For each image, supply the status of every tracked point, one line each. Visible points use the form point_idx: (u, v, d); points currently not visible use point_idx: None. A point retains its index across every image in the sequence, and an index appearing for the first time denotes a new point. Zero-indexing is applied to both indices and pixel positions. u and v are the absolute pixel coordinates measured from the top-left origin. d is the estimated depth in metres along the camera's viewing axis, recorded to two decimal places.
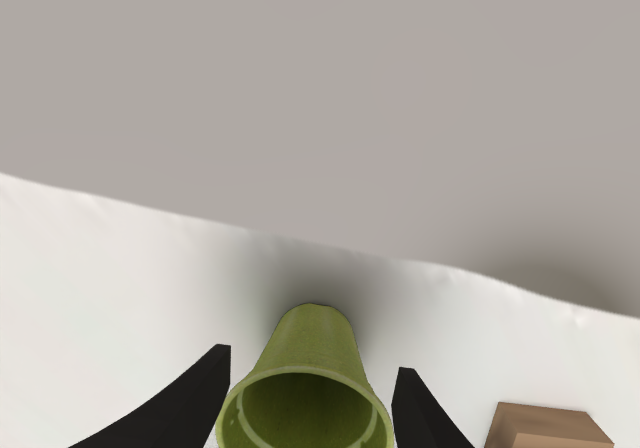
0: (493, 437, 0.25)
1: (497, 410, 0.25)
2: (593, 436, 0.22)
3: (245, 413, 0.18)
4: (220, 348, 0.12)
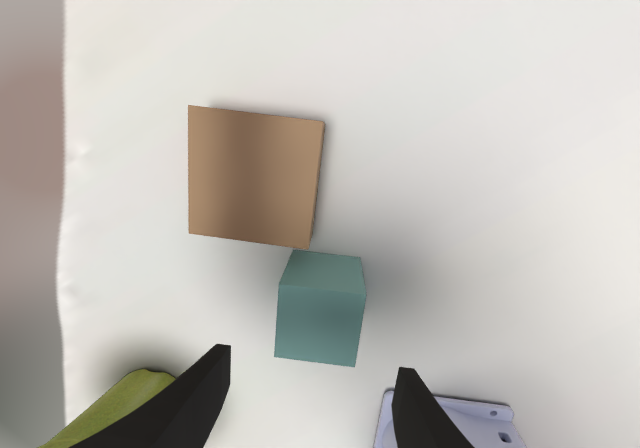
0: None
1: None
2: None
3: None
4: (220, 348, 0.12)
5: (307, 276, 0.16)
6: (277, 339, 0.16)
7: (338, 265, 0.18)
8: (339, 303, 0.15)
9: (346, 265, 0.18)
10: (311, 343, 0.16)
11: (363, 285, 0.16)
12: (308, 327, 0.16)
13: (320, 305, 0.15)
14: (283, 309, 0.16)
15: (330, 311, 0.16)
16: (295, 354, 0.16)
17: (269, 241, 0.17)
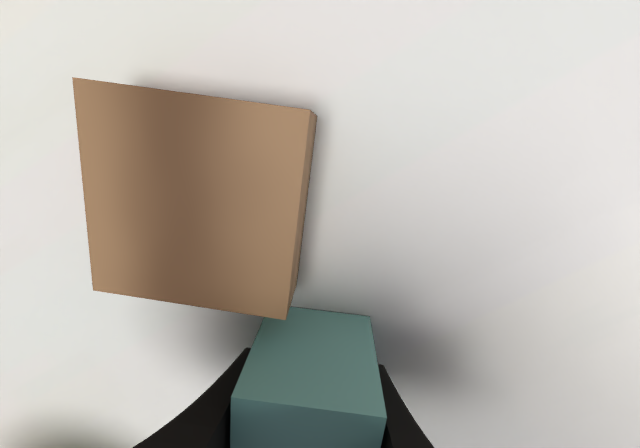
0: None
1: None
2: None
3: None
4: None
5: (283, 372, 0.10)
6: None
7: (337, 338, 0.12)
8: (339, 429, 0.09)
9: (349, 337, 0.12)
10: None
11: (380, 388, 0.09)
12: None
13: (305, 432, 0.09)
14: (240, 436, 0.09)
15: (322, 441, 0.09)
16: None
17: (223, 306, 0.10)
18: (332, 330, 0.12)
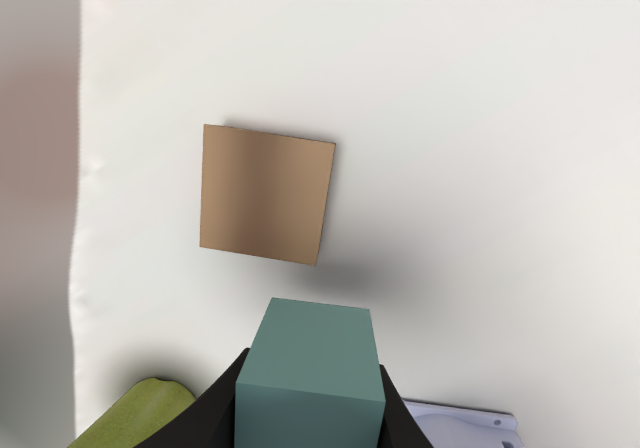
0: None
1: None
2: None
3: None
4: None
5: (286, 360, 0.10)
6: None
7: (337, 329, 0.12)
8: (340, 413, 0.09)
9: (349, 328, 0.12)
10: None
11: (379, 375, 0.10)
12: None
13: (307, 416, 0.09)
14: (244, 420, 0.09)
15: (323, 425, 0.09)
16: None
17: (278, 257, 0.18)
18: (333, 322, 0.12)
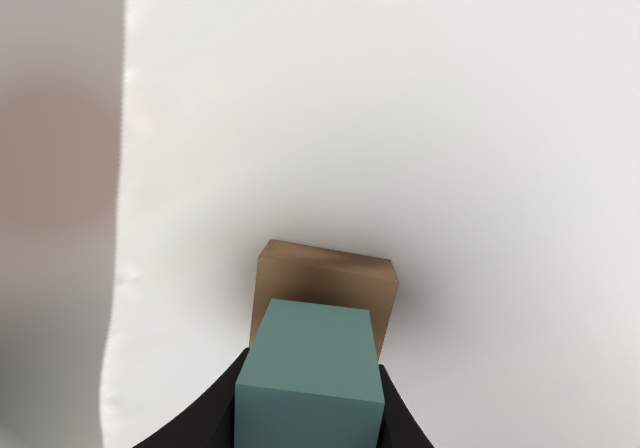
0: None
1: None
2: None
3: None
4: None
5: (285, 361, 0.10)
6: None
7: (337, 330, 0.12)
8: (339, 414, 0.09)
9: (349, 329, 0.12)
10: None
11: (378, 376, 0.10)
12: None
13: (306, 417, 0.09)
14: (244, 421, 0.09)
15: (323, 426, 0.09)
16: None
17: None
18: (332, 323, 0.12)
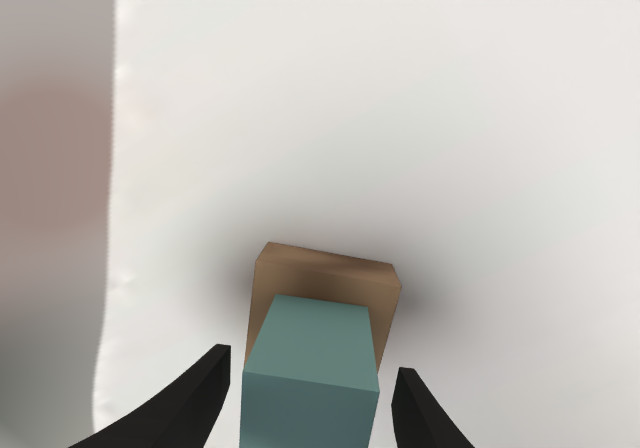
0: None
1: None
2: None
3: None
4: (220, 348, 0.12)
5: (288, 352, 0.11)
6: (242, 446, 0.11)
7: (337, 324, 0.13)
8: (337, 401, 0.10)
9: (348, 324, 0.13)
10: None
11: (374, 368, 0.11)
12: (288, 433, 0.10)
13: (307, 404, 0.10)
14: (250, 406, 0.10)
15: (322, 412, 0.10)
16: None
17: None
18: (333, 318, 0.13)
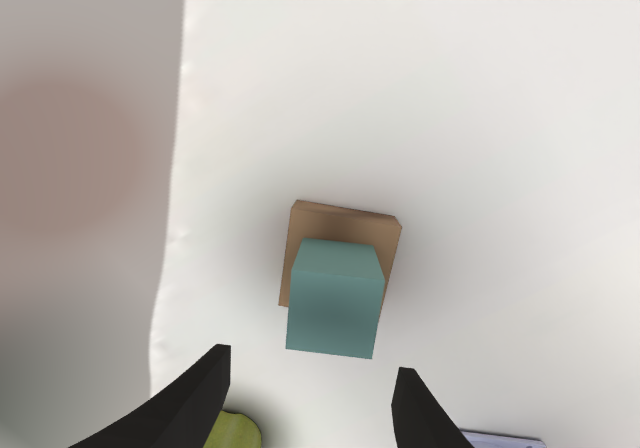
0: None
1: None
2: None
3: None
4: (220, 348, 0.12)
5: (320, 263, 0.15)
6: (289, 329, 0.15)
7: (351, 252, 0.17)
8: (356, 289, 0.14)
9: (360, 252, 0.17)
10: (325, 333, 0.15)
11: (380, 271, 0.15)
12: (322, 316, 0.15)
13: (335, 292, 0.15)
14: (295, 297, 0.15)
15: (346, 298, 0.15)
16: (308, 346, 0.15)
17: None
18: (348, 249, 0.18)
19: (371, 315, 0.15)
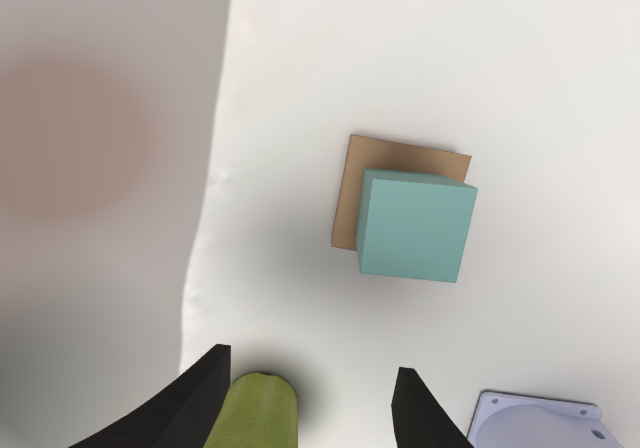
0: None
1: None
2: (348, 154, 0.18)
3: None
4: (220, 348, 0.12)
5: (398, 178, 0.14)
6: (366, 250, 0.14)
7: (424, 176, 0.16)
8: (444, 200, 0.13)
9: (432, 176, 0.16)
10: (406, 253, 0.14)
11: (466, 184, 0.14)
12: (403, 233, 0.14)
13: (421, 204, 0.13)
14: (375, 211, 0.13)
15: (432, 211, 0.13)
16: (386, 269, 0.14)
17: None
18: (418, 174, 0.16)
19: (459, 231, 0.13)
